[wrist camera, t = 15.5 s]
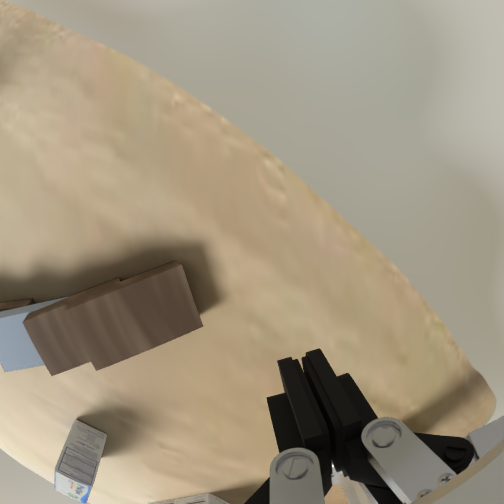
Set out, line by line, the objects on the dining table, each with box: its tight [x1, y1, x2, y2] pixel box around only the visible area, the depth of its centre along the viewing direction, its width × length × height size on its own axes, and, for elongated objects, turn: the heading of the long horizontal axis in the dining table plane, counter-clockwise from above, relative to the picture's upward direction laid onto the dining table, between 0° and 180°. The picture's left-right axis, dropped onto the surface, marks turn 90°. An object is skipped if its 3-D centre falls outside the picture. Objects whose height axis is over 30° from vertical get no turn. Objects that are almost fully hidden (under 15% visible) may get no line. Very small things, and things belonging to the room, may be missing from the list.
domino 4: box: [65, 261, 203, 371], centre depth 19 cm, size 2×5×9 cm
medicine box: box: [55, 420, 107, 503], centre depth 21 cm, size 8×4×9 cm, turn 150°
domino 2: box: [0, 296, 70, 372], centre depth 18 cm, size 2×5×9 cm
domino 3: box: [22, 277, 121, 376], centre depth 19 cm, size 2×5×9 cm
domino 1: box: [0, 299, 34, 312], centre depth 18 cm, size 2×5×9 cm
